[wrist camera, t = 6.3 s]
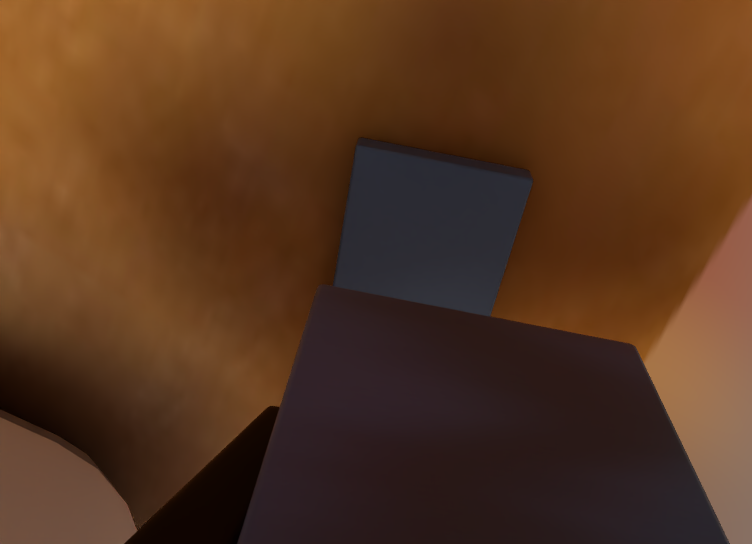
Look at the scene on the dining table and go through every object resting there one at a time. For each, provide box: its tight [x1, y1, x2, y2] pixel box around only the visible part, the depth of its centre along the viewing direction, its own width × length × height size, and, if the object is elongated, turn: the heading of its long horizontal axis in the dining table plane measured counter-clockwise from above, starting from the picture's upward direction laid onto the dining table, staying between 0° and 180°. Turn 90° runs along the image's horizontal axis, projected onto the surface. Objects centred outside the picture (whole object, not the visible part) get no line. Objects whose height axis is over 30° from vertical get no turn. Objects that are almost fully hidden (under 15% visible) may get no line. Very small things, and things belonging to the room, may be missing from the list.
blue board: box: [333, 138, 533, 316], centre depth 20 cm, size 5×10×1 cm, turn 170°
